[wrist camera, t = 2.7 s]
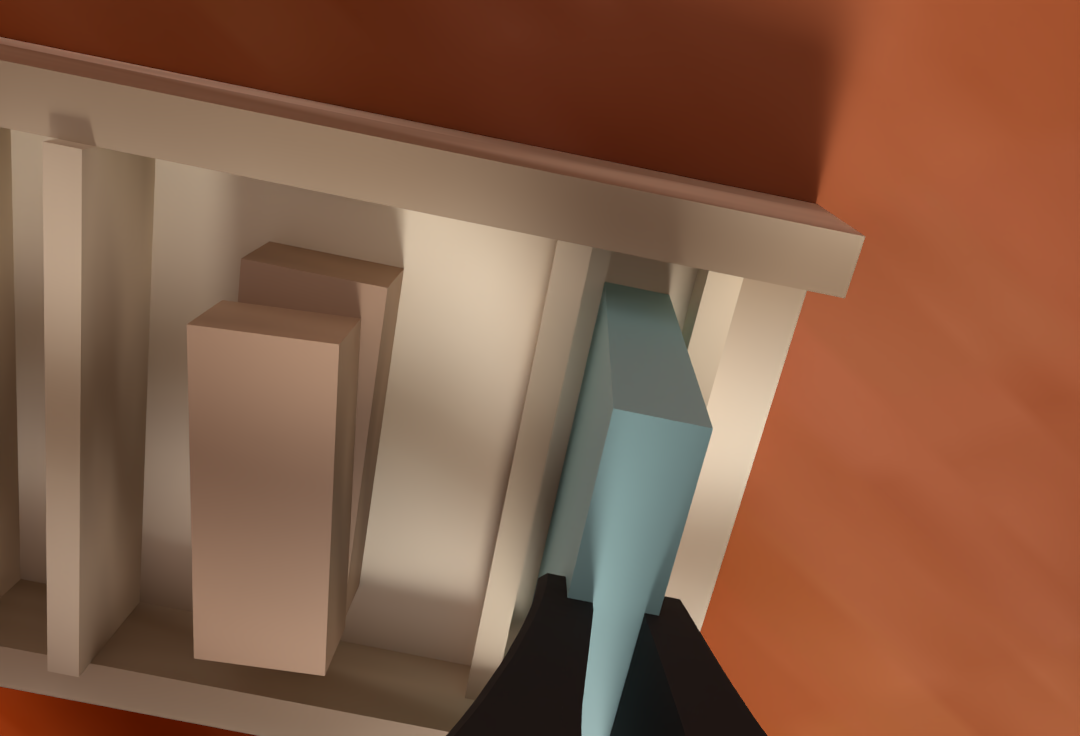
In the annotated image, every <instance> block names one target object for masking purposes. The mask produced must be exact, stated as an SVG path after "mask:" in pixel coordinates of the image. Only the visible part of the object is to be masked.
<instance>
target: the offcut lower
mask: <svg viewBox="0 0 1080 736" xmlns="http://www.w3.org/2000/svg"><path fill="white" fill-rule="evenodd" d="M403 272H404V268H400V267H395V266H390V265H385V264H380V263H375V262H370V261H365V260H360V259H355V258H350V257H345V256H340V255H335V254H330V253H325V252H320V251H315V250H311V249H306V248H301V247H296V246H291V245H286V244H281V243H276V242H271V241H269V242H268V243H266V244H264V245H263V246H261V247H259V248H258V249H256V250H254V251H253V252H251V253H249V254H248V255H246V256H244V257H243V258H241V265H240V279H239V292H238V302H241V303H249V304H256V305H264V306H271V307H279V308H286V309H294V310H302V311H309V312H317V313H324V314H332V315H339V316H347V317H354V318H361V331H360V351H359V370H358V389H357V409H356V428H355V447H354V466H353V486H352V505H351V524H350V543H349V563H348V582H347V601H346V615H347V613H348V611H349V608H350V606H351V604H352V601H353V599H354V597H355V594H356V592H357V590H358V587H359V584H360V576H361V569H362V562H363V555H364V548H365V541H366V534H367V527H368V520H369V513H370V506H371V499H372V492H373V484H374V477H375V470H376V463H377V456H378V449H379V442H380V435H381V428H382V421H383V414H384V407H385V400H386V392H387V385H388V378H389V371H390V364H391V357H392V350H393V343H394V336H395V329H396V322H397V315H398V308H399V300H400V293H401V286H402V279H403Z"/></svg>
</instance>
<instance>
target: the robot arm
mask: <svg viewBox="0 0 1080 736" xmlns="http://www.w3.org/2000/svg"><path fill="white" fill-rule="evenodd" d="M593 611H594V610H593V603H592V602H587V601H582V600H577V599H572V598H567V585H566V576H560V575H555V574H550V573H547V574H545V575H543V576H541V577H539V578H538V580H537V585H536V589H535V594H534V598H533V602H532V605H531V608H530V610H529V612H528V615H527V617H526V619H525V621H524V623H523V625H522V627H521V629H520V631H519V633H518V634H517V636H516V638H515V640H514V641H513V643H512V645H511V647H510V649H509V650H508V652H507V654H506V656H505V657H504V659H503V660H502V662H501V664H500V665H499V667H498V668H497V669H496V671H495V672H494V674H493V675H492V677H491V678H490V680H489V681H488V682H487V684H486V685H485V687H484V688H483V690H482V691H481V693H480V694H479V695H478V697H477V698H476V700H475V701H474V702H473V703H472V705H471V706H470V707H469V709H468V710H467V711H466V712H465V714H464V715H463V716H462V717H461V719H460V720H459V721H458V722H457V724H456V725H455V726H454V727H453V728H452V729H451V730H450V732H449V733H448V734H447V735H446V736H582V730H581V726H582V704H583V696H584V688H585V679H586V671H587V662H588V654H589V646H590V637H591V629H592V620H593ZM610 736H767V735H766V733H765V732H764V731H763V729H762V728H761V727H760V725H759V724H758V722H757V721H756V719H755V718H754V717H753V715H752V714H751V712H750V711H749V709H748V708H747V706H746V705H745V703H744V702H743V700H742V699H741V697H740V696H739V694H738V693H737V691H736V689H735V688H734V686H733V685H732V683H731V682H730V680H729V679H728V677H727V676H726V674H725V672H724V671H723V669H722V668H721V666H720V664H719V663H718V661H717V659H716V658H715V656H714V655H713V653H712V651H711V650H710V648H709V646H708V645H707V643H706V641H705V640H704V638H703V636H702V635H701V633H700V631H699V629H698V628H697V626H696V624H695V623H694V621H693V619H692V618H691V616H690V614H689V613H688V611H687V609H686V608H685V606H684V605H683V603H682V601H681V600H680V599H676V598H671V597H666V596H664V600H663V603H662V607H661V610H660V613H659V616H658V615H653V614H648V613H645V614H644V617H643V621H642V624H641V628H640V631H639V635H638V638H637V642H636V645H635V649H634V652H633V656H632V660H631V663H630V667H629V670H628V674H627V677H626V681H625V684H624V688H623V691H622V695H621V698H620V702H619V706H618V709H617V713H616V716H615V720H614V723H613V727H612V730H611V734H610Z"/></svg>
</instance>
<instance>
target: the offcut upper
mask: <svg viewBox="0 0 1080 736" xmlns="http://www.w3.org/2000/svg"><path fill="white" fill-rule="evenodd" d="M360 331H361V318H354V317H347V316H339V315H332V314H324V313H317V312H309V311H302V310H294V309H286V308H279V307H271V306H264V305H256V304H249V303H241V302H234V301H226V300H221V301H220V302H218V303H217V304H216V305H214V306H213V307H211V308H210V309H208V310H207V311H205V312H204V313H202V314H201V315H199V316H198V317H197V318H195V319H194V320H192V321H191V322H189V323H188V324H187V364H188V410H189V456H190V501H191V547H192V592H193V638H194V659H202V660H209V661H217V662H224V663H231V664H239V665H246V666H254V667H261V668H269V669H276V670H283V671H291V672H298V673H306V674H313V675H320V676H325V675H326V672H327V670H328V667H329V665H330V663H331V660H332V658H333V656H334V653H335V651H336V648H337V646H338V644H339V641H340V639H341V636H342V634H343V632H344V629H345V620H346V601H347V582H348V563H349V543H350V524H351V505H352V486H353V466H354V447H355V428H356V409H357V389H358V370H359V351H360Z"/></svg>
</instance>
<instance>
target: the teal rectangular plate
mask: <svg viewBox="0 0 1080 736" xmlns="http://www.w3.org/2000/svg"><path fill="white" fill-rule="evenodd" d="M712 431H713V427H712V424H711V421H710V418H709V415H708V411H707V408H706V405H705V402H704V399H703V396H702V393H701V390H700V387H699V384H698V381H697V378H696V375H695V372H694V369H693V366H692V363H691V360H690V357H689V354H688V351H687V347H686V344H685V341H684V338H683V335H682V332H681V329H680V326H679V323H678V320H677V317H676V314H675V311H674V308H673V305H672V302H671V299H670V296H669V295H668V294H663V293H658V292H653V291H648V290H643V289H638V288H634V287H629V286H624V285H619V284H614V283H609V282H605V283H604V287H603V292H602V296H601V301H600V305H599V309H598V314H597V318H596V323H595V327H594V331H593V336H592V340H591V345H590V349H589V354H588V358H587V362H586V367H585V371H584V376H583V380H582V384H581V389H580V393H579V398H578V402H577V406H576V411H575V415H574V420H573V424H572V429H571V433H570V437H569V442H568V446H567V451H566V455H565V459H564V464H563V468H562V473H561V477H560V481H559V486H558V490H557V495H556V499H555V504H554V508H553V512H552V517H551V521H550V526H549V530H548V534H547V539H546V543H545V548H544V552H543V557H542V561H541V565H540V570H539V574H538V578H539V577H541V576H543V575H545V574H547V573H550V574H555V575H560V576H566V585H567V598H572V599H577V600H582V601H587V602H592V603H593V610H594V611H593V620H592V629H591V637H590V646H589V654H588V662H587V671H586V679H585V688H584V696H583V704H582V726H581V730H582V736H610V734H611V730H612V727H613V723H614V720H615V716H616V713H617V709H618V706H619V702H620V698H621V695H622V691H623V688H624V684H625V681H626V677H627V674H628V670H629V667H630V663H631V660H632V656H633V652H634V649H635V645H636V642H637V638H638V635H639V631H640V628H641V624H642V621H643V617H644V614H645V613H648V614H653V615H658V616H659V613H660V610H661V607H662V603H663V600H664V596H665V593H666V589H667V586H668V582H669V579H670V576H671V572H672V569H673V565H674V562H675V558H676V555H677V551H678V548H679V544H680V541H681V538H682V534H683V531H684V527H685V524H686V520H687V517H688V513H689V510H690V506H691V503H692V500H693V496H694V493H695V489H696V486H697V482H698V479H699V475H700V472H701V468H702V465H703V462H704V458H705V455H706V451H707V448H708V444H709V441H710V437H711V434H712ZM537 580H538V579H537ZM536 585H537V583H536ZM535 589H536V587H535ZM534 594H535V592H534ZM533 598H534V596H533ZM532 602H533V601H532Z"/></svg>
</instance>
